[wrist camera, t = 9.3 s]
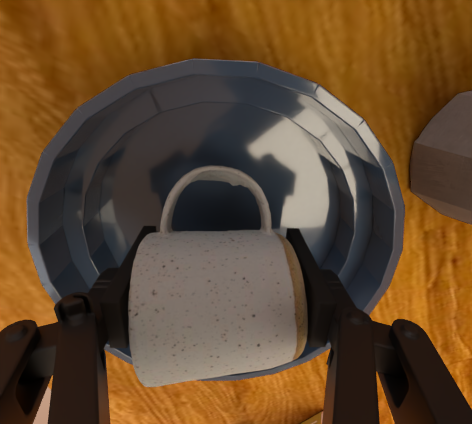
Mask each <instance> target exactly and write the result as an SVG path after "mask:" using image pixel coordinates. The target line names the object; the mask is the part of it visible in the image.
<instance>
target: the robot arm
mask: <svg viewBox="0 0 472 424" xmlns="http://www.w3.org/2000/svg"><path fill="white" fill-rule="evenodd" d="M150 233H157V231H156V226H143V228H142V230H141V231H140V233H139V235H138V236H137V238H136V240H135V242H134V243H133V245H132V247H131V249H130V250H129V252H128V254H127V255H126V257H125V259H124V261H123V262H122V264H121V266H120V267H119V268H107V269H106V270H105V271H103V272H102V273H101V274H100V275H99V277H98V278H97V280H96V282H95V283H94V284H93V286H92V288H91V289H90V290H89V292H88V293H85V292H77V293H72V294H69V295H67V296H65V297H63V298H62V299H60V300H59V301H58V302H57V303H56V305H55V307H54V310H55V313H56V316H57V319H58V322H56V323H53V324H49V325H44V326H40V327H37V324H36V322H35V321H32V320H22V321H18V322H15V323H13V324H11V325H9V326H7V327H6V328H4V329H3V330H2V331H1V332H0V424H33V422H34V419H35V417H36V414H37V411H38V409H39V406H40V404H41V401H42V399H43V396H44V394H45V391H46V389H47V386H48V384H49V381H50V379H51V376H52V375H53V381H52V390H51V400H50V408H49V417H48V424H110V413H109V399H108V385H107V370H106V356H105V351H104V348H105V345H106V343H107V341H109V346H110V348H127V347H128V345H129V331H128V328H129V316H128V302H129V290H130V281H131V274H132V268H133V262H134V259H135V257H136V253H137V250H138V246H139V245H140V243H141V241H142V240H143V239H144V238H145V236H146V235H148V234H150ZM286 239H287V240H288V241H289V243H290V244H291V245H292V247H293V249H294V251H295V253H296V256H297V258H298V261H299V264H300V267H301V271H302V276H303V280H304V287H305V293H306V300H307V312H308V334H307V341H308V344H309V347H326V343H327V339H328V340H329V343H330V345H331V349H330V353H329V356H328V360H327V365H328V372H327V381H326V391H325V400H324V410H323V419H322V424H380V423H379V409H378V394H377V379H376V371H377V372H378V375H379V378H380V381H381V384H382V387H383V390H384V393H385V396H386V399H387V401H388V404H389V407H390V410H391V413H392V416H393V419H394V422H395V424H472V409H471V408H470V406H469V404H468V403H467V401H466V399H465V398H464V396H463V394H462V393H461V391H460V389H459V387H458V386H457V384H456V382H455V381H454V379H453V377H452V376H451V374H450V372H449V371H448V369H447V367H446V366H445V364H444V362H443V360H442V359H441V357H440V355H439V354H438V352H437V350H436V349H435V347H434V345H433V344H432V342H431V340H430V339H429V337H428V335H427V334H426V332H425V331H424V330H423V329H422V328H421V327H420V326H418V325H417V324H415V323H413V322H411V321H408V320H405V319H397V320H395V321H394V322H393V324H392V326H390V325H386V324H382V323H378V322H375V321H372V320H371V318H370V317H369V315H368V314H367V313H365V312H364V311H362V310H360V309H358V308H356V306H355V304H354V302H353V301H352V299H351V297H350V296H349V294H348V292H347V291H346V289H345V287H344V286H343V284H342V283H341V281H340V279H339V277H338V275H336V274H335V273H334V272H333V271H332V270H331V269H319V267H318V265H317V263H316V261H315V259H314V257H313V255H312V253H311V251H310V249H309V247H308V245H307V244H306V242H305V240H304V238H303V236H302V234H301V232H300V230H299V228H287V233H286Z"/></svg>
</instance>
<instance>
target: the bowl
mask: <svg viewBox="0 0 472 424" xmlns="http://www.w3.org/2000/svg"><path fill="white" fill-rule="evenodd" d="M210 165H212V166H225V167H230V168H234V169H238V170H240V171H242V172H244V173H245V174H247V175H248V176H250V177H251V178H252V179H253V180H254V181H255V182H256V183H257V184H258V185H259V186H260V188H261V189H262V191H263V193H264V195H265V197H266V199H267V202H268V204H269V210H270V213H271V223H272V224H271V229H272V231H273V232H275V233H278V234H280V235H282V236H283V237H284V238H286V233H287V228H299V230H300V232H301V234H302V236H303V238H304V240H305V242H306V244H307V245H308V247H309V249H310V251H311V253H312V255H313V257H314V259H315V261H316V263H317V265H318V267H319V269H331V270H332V271H333V272H334V273H335V274H336V275H338V277H339V279H340V281H341V283H342V284H343V286H344V287H345V289H346V291H347V292H348V294H349V296H350V297H351V299H352V301H353V302H354V304H355V306H356V308H358V309H360V310H362V311H364V312H365V313H367V314H368V315H370V313H371V312H372V310H373V309H374V308H375V306H376V305H377V303H378V302H379V300H380V299H381V298H382V296H383V295H384V293H385V292H386V290H387V289H388V288H389V286H390V283H391V280H392V278H393V275H394V272H395V269H396V267H397V264H398V261H399V258H400V256H401V253H402V249H403V234H404V217H405V205H404V201H403V198H402V194H401V190H400V186H399V183H398V179H397V175H396V171H395V168H394V164H393V163H392V160H391V158H390V157H389V155H388V154H387V152H386V151H385V149H384V148H383V146H382V145H381V143H380V142H379V140H378V139H377V137H376V136H375V134H374V133H373V131H372V130H371V128H370V127H369V125H368V124H367V122H366V121H365V120H364V119H363V118H362V117H361V116H360V115H358V114H357V113H356V112H355V111H353V110H352V109H351V108H349V107H348V106H347V105H346V104H344V103H343V102H342V101H340V100H339V99H338V98H337V97H335V96H334V95H333V94H331V93H330V92H329V91H328V90H326V89H325V88H324V87H322V86H321V85H320V84H317V83H316V82H313V81H310V80H308V79H305V78H302V77H299V76H297V75H294V74H291V73H289V72H286V71H283V70H280V69H278V68H275V67H272V66H269V65H267V64H264V63H261V62H259V63H258V62H257V61H238V60H217V59H197V58H193V59H187V60H184V61H180V62H176V63H172V64H168V65H164V66H160V67H156V68H153V69H149V70H145V71H141V72H137V73H133V74H130V75H129V76H126V77H124V78H123V79H121V80H119V81H118V82H116V83H115V84H113V85H112V86H110V87H109V88H107V89H105V90H104V91H102V92H101V93H99V94H98V95H96V96H94V97H93V98H91V99H90V100H88V101H87V102H85V103H83V104H82V105H80V106H79V107H78V108H77V109H75V111H74V112H73V113H72V115H71V116H70V117H69V118H68V120H67V121H66V122H65V123H64V125H63V126H62V127H61V128H60V130H59V131H58V132H57V134H56V135H55V136H54V137H53V139H52V140H51V141H50V142H49V144H48V145H47V146H46V147H45V149H44V150H43V152H42V154H41V157H40V160H39V163H38V166H37V169H36V172H35V175H34V178H33V181H32V184H31V187H30V190H29V193H28V196H27V243H28V247H29V249H30V252H31V255H32V258H33V261H34V264H35V267H36V270H37V273H38V276H39V278H40V281H41V284H42V286H43V287H44V289H45V290H46V291H47V293H48V294H49V296H50V297H51V299H52V300H53V301H54V303H55V304H56V303H57V302H58V301H59V300H60V299H62V298H63V297H65V296H67V295H69V294H72V293H77V292H85V293H88V292H89V290H90V289H91V288H92V286H93V284H94V283H95V282H96V280H97V278H98V277H99V275H100V274H101V273H102V272H103V271H105V270H106V269H107V268H119V267H120V266H121V264H122V262H123V261H124V259H125V257H126V255H127V254H128V252H129V250H130V249H131V247H132V245H133V243H134V242H135V240H136V238H137V236H138V235H139V233H140V231H141V230H142V228H143V226H156V231H157V232H160V225H161V218H162V213H163V208H164V205H165V202H166V200H167V197H168V195H169V193H170V192H171V190H172V188H173V187H174V186H175V184H176V183H177V182H178V181H179V180H180V179H181V178H182V177H183V176H184V175H185V174H187V173H189V172H190V171H192V170H194V169H195V168H199V167H204V166H210ZM171 228H172V230H173V231H179V232H180V231H218V232H219V231H239V230H260V228H261V215H260V211H259V206H258V204H257V201H256V198H255V196H254V195H253V194H252V193H251V191H250V190H249V189H248V187H244V186H242V185H238V186H232V185H231V184H230V183H228V182H223V181H214V180H197V181H194V182H191V183H190V184H188V185H187V186H186V187H185V188H184V189H183V191H182V192H181V194H180V195H179V197H178V200H177V202H176V205H175V208H174V212H173V217H172V224H171ZM330 348H331V345H330V343H329V340H328V339H327V343H326V347H309V344H308V341H306V344H305V347H304V350H303V352H302V354H301V355H300V356H299V357H298V358H297V359H295V360H293V361H291V362H288V363H285V364H283V365H280V366H277V367H274V368H270V369H266V370H260V371H253V372H246V373H238V374H231V375H225V376H220V377H214V378H207V379H199V380H198V381H200V380H201V381H236V380H243V379H249V378H254V377H260V376H265V375H271V374H275V373H278V372H281V371H283V370H286V369H289V368H292V367H294V366H297V365H300V364H303V363H305V362H307V361H310V360H311V359H313V358H315V357H316V356H318V355H320V354H322V353H323V352H325V351H327V350H328V349H330ZM104 350H106V351H108V352H109V353H111V354H113V355H115V356H116V357H118V358H120V359H122V360H124V361H125V362H127V363H129V364H132V365H133V362H132V356H131V351H130V344H129V345H128V347H127V348H110V346H109V341H107V343H106V345H105V348H104Z"/></svg>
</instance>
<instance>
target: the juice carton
mask: <svg viewBox="0 0 472 424" xmlns="http://www.w3.org/2000/svg"><path fill="white" fill-rule="evenodd" d="M322 419H323V411H322V412H320V413H318V414H317V415H315V416H313V417H311V418H310V419H308V420H306V421H304V422H302V423H301V424H322Z"/></svg>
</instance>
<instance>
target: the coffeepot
mask: <svg viewBox="0 0 472 424" xmlns="http://www.w3.org/2000/svg"><path fill="white" fill-rule="evenodd" d="M410 179H411V192H413V193H414V194H415V195H417V196H418V197H419V198H421V199H422V200H423V201H424V202H426V203H427V204H429V205H430V206H431V207H433V208H434V209H435V210H437V211H438V212H439V213H441V214H443V215H445V216H448V217H451V218H454V219H457V220H460V221H463V222H465V223H468V224H471V225H472V91H468V92H463V93H459V94H457V95H456V96H455V97H454V98H453V99H452V100H451V101H450V102H449V103H448V104H446V105H445V106H444V107H443V108H442V109H441V110H440V111H439V112H438V113H437V114H436V115H435V116H434V117H433V118H432V119H431V120H430V122H429V123H428V124H427V126H426V127H425V128H424V129H423V131H422V133H421V134H420V136H419V138H418V139H417V140H416V141H415V142H414V145H413V150H412V155H411V161H410Z"/></svg>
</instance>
